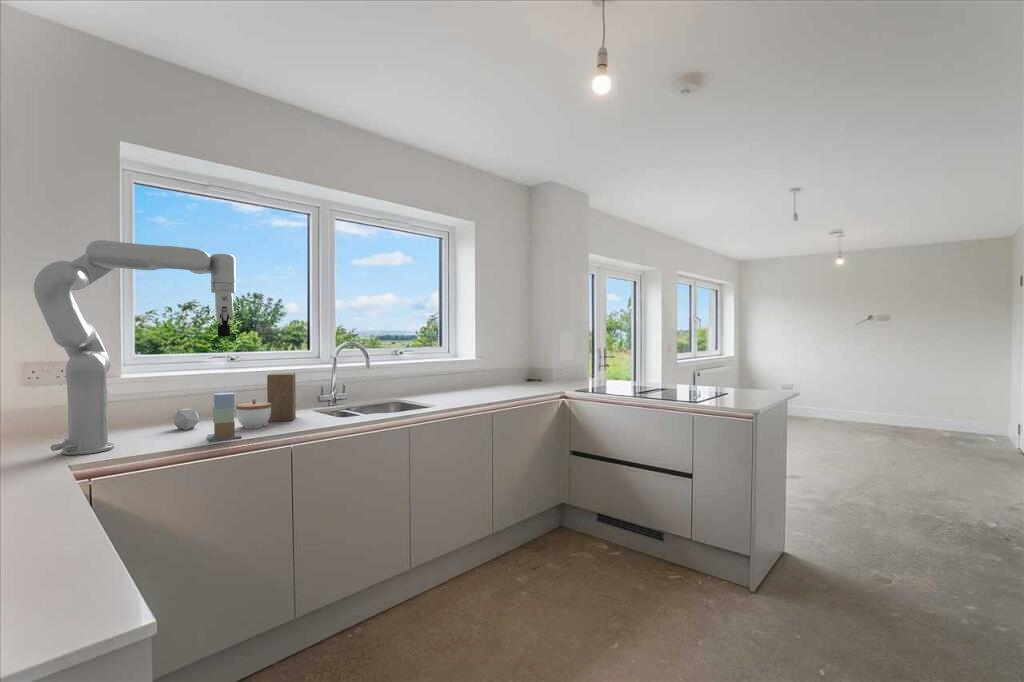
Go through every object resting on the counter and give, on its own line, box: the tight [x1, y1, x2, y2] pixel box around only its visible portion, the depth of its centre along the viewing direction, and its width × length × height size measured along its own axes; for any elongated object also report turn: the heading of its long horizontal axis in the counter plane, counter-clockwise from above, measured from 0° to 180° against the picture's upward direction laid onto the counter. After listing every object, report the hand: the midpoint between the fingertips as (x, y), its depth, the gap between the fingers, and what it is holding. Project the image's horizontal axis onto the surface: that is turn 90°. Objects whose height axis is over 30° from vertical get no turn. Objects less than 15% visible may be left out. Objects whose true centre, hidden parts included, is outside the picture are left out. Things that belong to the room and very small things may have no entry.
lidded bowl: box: [235, 398, 272, 429], centre depth 198 cm, size 13×13×11 cm
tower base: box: [207, 421, 242, 442], centre depth 177 cm, size 10×10×6 cm
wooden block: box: [266, 372, 297, 423], centre depth 214 cm, size 10×10×20 cm
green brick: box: [212, 406, 235, 425], centre depth 177 cm, size 6×6×5 cm
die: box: [172, 407, 200, 431], centre depth 193 cm, size 8×9×10 cm
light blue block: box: [213, 391, 235, 409], centre depth 177 cm, size 6×6×5 cm
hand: (223, 336), depth 177 cm, fingers open, 9 cm apart
